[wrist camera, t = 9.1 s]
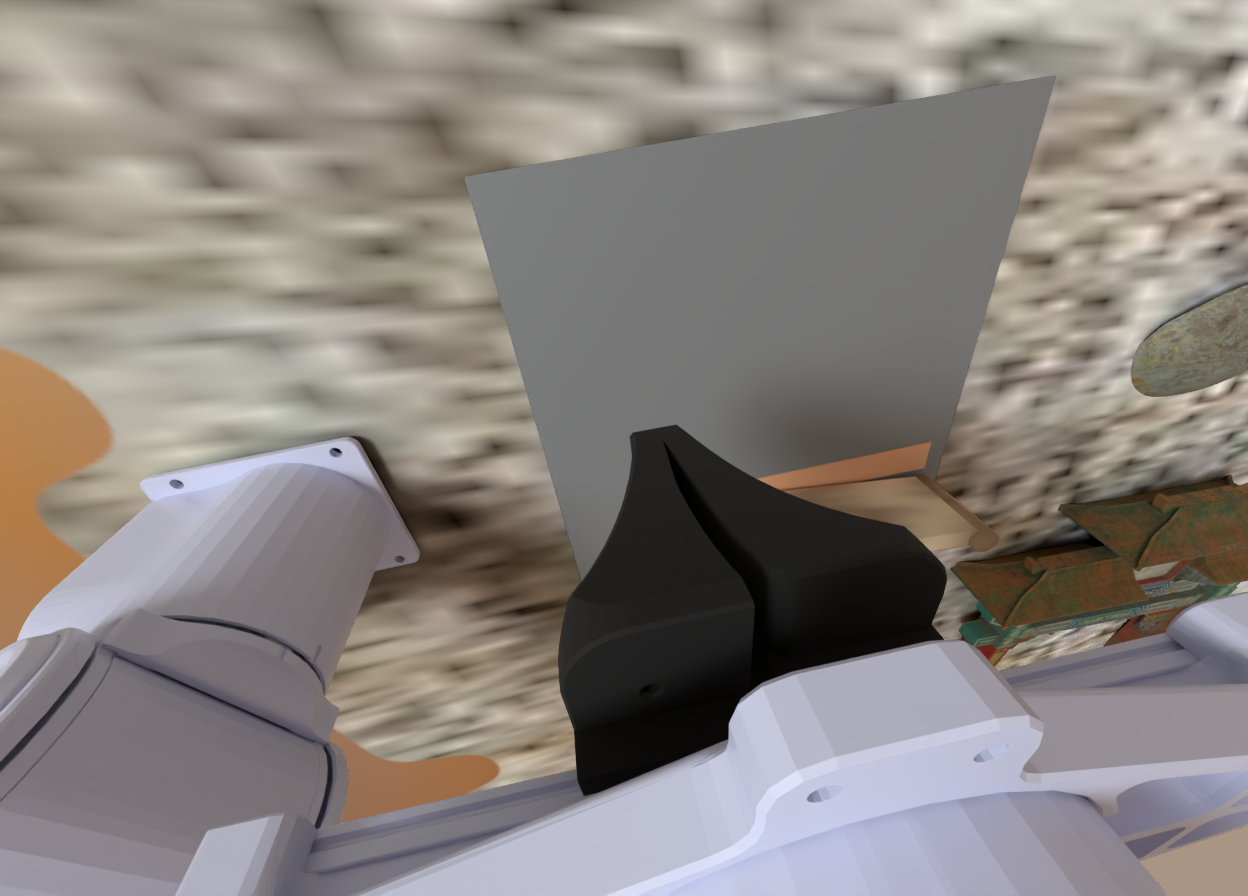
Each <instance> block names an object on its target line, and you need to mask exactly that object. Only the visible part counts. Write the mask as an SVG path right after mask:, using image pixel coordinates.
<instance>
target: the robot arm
mask: <svg viewBox="0 0 1248 896" xmlns="http://www.w3.org/2000/svg"><path fill="white" fill-rule="evenodd" d="M630 445H631V452H632V460H631V468H630V475H629V480H628V484H627V488H626V492H625V496H624V499H623V503H622V506H621V509H620V511H619V514H618V517H617V519H616V522H615V524H614V526H613V529H612V531H611V533H610V535H609V537H608V539H607V541H606V543H605V545H604V547H603V549H602V550H601V552H600V554H599V555H598V557H597V559H596V560H595V562H594V564H593V566H592V567H591V569H590V570H589V572H588V573H587V575H586V576H585V577H584V579H583V580H582V581H581V583H580V584H579V585H578V587H577V588H576V589H575V591H574V592H573V593H572V595H571V596H570V597H569V601H568V605H567V608H566V612H565V616H564V621H563V625H562V630H561V636H560V644H559V655H558V667H559V683H560V692H561V695H562V698H563V701H564V703H565V706H566V709H567V712H568V714H569V717H570V720H571V723H572V725H573V728H574V735H575V751H576V768H577V769H574V770H570V771H565V772H561V773H557V774H552V775H548V776H544V777H539V778H535V779H531V780H526V781H522V782H518V783H514V784H509V785H505V786H501V787H496V788H492V789H488V790H483V791H479V792H475V793H470V794H466V795H462V796H458V797H453V798H449V799H445V800H440V801H436V802H432V803H427V804H423V805H418V806H414V807H410V808H406V809H401V810H397V811H393V812H388V813H384V814H380V815H375V816H371V817H367V818H362V819H358V820H354V821H349V822H345V823H341V820H342V815H343V811H344V805H345V802H346V796H347V789H348V766H347V760H346V757H345V755H344V753H343V751H342V750H341V749H340V748H339V747H338V746H337V745H336V744H335V743H333V742H330V741H328V740H329V737H330V734H331V732H332V729H333V726H334V723H335V721H336V718H337V715H338V712H339V708H338V707H336V706H335V705H333V704H331V703H330V702H329V701H328V700H327V699H326V698H325V694H326V692H327V689H328V687H329V684H330V682H331V679H332V677H333V674H334V672H335V669H336V667H337V664H338V662H339V659H340V657H341V654H342V652H343V649H344V647H345V644H346V642H347V639H348V637H349V634H350V632H351V629H352V627H353V624H354V622H355V619H356V617H357V614H358V612H359V609H360V607H361V604H362V602H363V599H364V597H365V594H366V592H367V589H368V587H369V584H370V582H371V579H372V577H373V574H374V572H375V571H378V570H382V569H387V568H392V567H397V566H401V565H406V564H411V563H414V562H416V561H418V559H419V556H420V550H419V549H418V547H417V545H416V543H415V541H414V540H413V538H412V536H411V534H410V532H409V531H408V529H407V527H406V525H405V523H404V521H403V520H402V518H401V516H400V514H399V512H398V511H397V509H396V507H395V505H394V503H393V502H392V500H391V498H390V496H389V494H388V493H387V491H386V489H385V487H384V485H383V484H382V482H381V480H380V478H379V476H378V475H377V473H376V471H375V469H374V467H373V466H372V464H371V462H370V460H369V458H368V457H367V455H366V453H365V451H364V449H363V448H362V446H361V444H360V443H359V442H358V441H357V440H356V439H354V438H350V437H344V438H339V439H333V440H328V441H323V442H318V443H313V444H308V445H303V446H298V447H293V448H288V449H283V450H278V451H272V452H267V453H262V454H257V455H252V456H247V457H242V458H237V459H232V460H227V461H222V462H217V463H212V464H206V465H201V466H196V467H191V468H186V469H181V470H176V471H171V472H166V473H161V474H156V475H151V476H148V477H147V478H145V479H144V480H143V481H142V482H141V483H140V487H141V489H142V490H143V491H144V493H145V494H146V495H147V496H148V497H149V498H150V499H151V500H152V502H151V503H150V504H148V505H147V506H146V507H145V508H144V509H143V510H142V511H141V512H139V513H138V514H137V515H136V516H135V517H134V518H133V519H132V520H130V521H129V522H128V523H127V524H126V525H125V526H124V527H123V528H121V529H120V530H119V531H118V532H117V533H116V534H115V535H114V536H112V537H111V538H110V539H109V540H108V541H107V542H106V543H105V544H103V545H102V546H101V547H100V548H99V549H98V550H97V551H96V552H94V553H93V554H92V555H91V556H90V557H89V558H88V559H86V560H85V561H84V562H83V563H82V564H81V565H80V566H79V567H78V568H76V569H75V570H74V571H73V572H72V573H71V574H70V575H68V576H67V577H66V578H65V579H64V580H63V581H62V582H61V583H59V584H58V585H57V586H56V587H55V588H54V589H53V590H52V591H50V592H49V593H48V594H47V595H46V596H45V597H44V598H43V599H42V600H41V601H40V602H39V604H38V605H37V606H36V607H35V608H34V610H33V611H32V612H31V614H30V615H29V617H28V618H27V620H26V622H25V623H24V625H23V627H22V630H21V632H20V634H19V637H18V640H17V642H15V643H13V644H11V645H9V646H8V647H6V648H4V649H3V650H1V651H0V896H1169V895H1168V894H1167V893H1166V891H1165V890H1164V889H1163V888H1162V887H1161V886H1160V884H1159V883H1158V882H1157V881H1156V880H1155V879H1154V877H1153V876H1152V875H1151V874H1150V873H1149V872H1148V870H1147V869H1146V868H1145V867H1144V866H1143V864H1142V863H1141V862H1140V861H1142V860H1145V859H1148V858H1151V857H1154V856H1157V855H1160V854H1162V853H1166V852H1169V851H1172V850H1175V849H1178V848H1181V847H1184V846H1187V845H1190V844H1193V843H1196V842H1199V841H1202V840H1205V839H1208V838H1211V837H1214V836H1218V835H1221V834H1224V833H1227V832H1230V831H1233V830H1236V829H1239V828H1242V827H1245V826H1248V592H1243V593H1238V594H1234V595H1229V596H1225V597H1221V598H1216V599H1212V600H1207V601H1203V602H1200V603H1197V604H1194V605H1191V606H1190V607H1188V608H1186V609H1185V610H1183V611H1182V612H1180V613H1179V614H1178V615H1177V616H1176V617H1175V618H1174V619H1173V620H1172V621H1171V623H1170V624H1169V626H1168V627H1167V630H1166V633H1162V634H1157V635H1153V636H1149V637H1144V638H1140V639H1136V640H1131V641H1127V642H1123V643H1118V644H1114V645H1110V646H1105V647H1101V648H1097V649H1093V650H1088V651H1084V652H1080V653H1075V654H1071V655H1067V656H1062V657H1058V658H1054V659H1049V660H1045V661H1041V662H1036V663H1032V664H1028V665H1023V666H1019V667H1015V668H1010V669H1006V670H1002V671H997V670H996V668H995V667H994V666H993V665H992V664H991V663H990V662H989V661H988V659H987V658H986V657H985V656H984V655H983V654H982V653H981V652H980V650H978V649H976V648H975V647H973V646H971V645H970V644H968V643H966V642H965V641H960V640H955V639H954V640H944V639H943V637H942V636H941V635H940V634H939V633H938V632H937V630H936V629H935V628H934V627H933V626H932V621H933V619H934V616H935V614H936V612H937V609H938V607H939V604H940V602H941V599H942V597H943V594H944V590H945V586H946V581H947V575H946V570H945V567H944V566H943V564H942V563H941V562H940V561H939V560H938V559H937V557H936V556H935V555H934V554H933V553H932V552H931V551H930V550H929V549H928V548H927V547H926V546H925V545H924V544H923V543H922V542H921V541H920V540H919V539H918V538H917V537H916V536H915V535H914V534H913V533H912V532H910V531H909V530H908V529H907V528H906V527H905V526H901V525H897V524H892V523H887V522H883V521H878V520H873V519H869V518H864V517H859V516H855V515H852V514H848V513H845V512H841V511H838V510H834V509H831V508H827V507H824V506H821V505H818V504H815V503H812V502H809V501H807V500H804V499H802V498H799V497H796V496H794V495H791V494H788V493H786V492H784V491H781V490H779V489H777V488H775V487H773V486H771V485H768V484H766V483H764V482H762V481H760V480H758V479H756V478H754V477H752V476H750V475H749V474H747V473H745V472H743V471H742V470H740V469H738V468H737V467H735V466H733V465H732V464H730V463H728V462H727V461H725V460H724V459H722V458H721V457H719V456H718V455H717V454H715V453H714V452H712V451H711V450H709V449H708V448H707V447H705V446H704V445H703V444H701V443H700V442H699V441H697V440H696V439H695V438H693V437H692V436H691V435H690V434H688V433H687V432H686V431H685V430H683V429H682V428H681V427H679V426H678V425H677V424H676V425H671V426H665V427H660V428H655V429H649V430H644V431H638V432H633V433H632V434H631V436H630ZM333 448H338V449H340V450H341V451H342V453H338V452H336V451H334V450H333ZM177 480H179V481H181V482H182V483H180V482H178V481H177ZM398 556H402V557H398Z"/></svg>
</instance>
